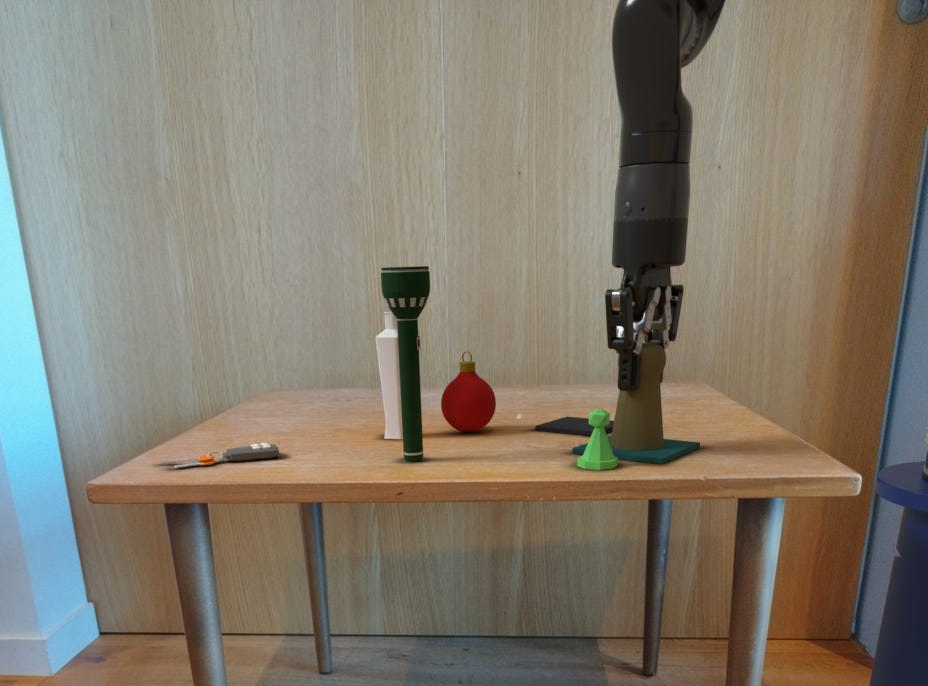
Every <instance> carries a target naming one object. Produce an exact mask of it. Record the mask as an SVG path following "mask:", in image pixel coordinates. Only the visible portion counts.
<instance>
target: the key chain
mask: <svg viewBox="0 0 928 686" xmlns="http://www.w3.org/2000/svg"><path fill="white" fill-rule="evenodd" d="M213 454H218V455H220V457H217V458H215V455H213ZM279 456H280V449H279V447H278V446H277V445H276V444H274V443H269V442H262V443H260V444H259V443H252V444H250V445H248V446H238V447H232V448H227V449H226V451H225V452H221V451H219V450H211V451H209V452H207V454H206V455H201V456H199V457H192V458H191V457H190V458H179V459H173V460H163V461H162V463H163V464H167V463H178V462H179V463H180V462H190V461H196V462H190V463H182V464H176V465H174V466H173V468H174V469H181V468H182V469H183V468H189V467H194V466H209V465H213V464H215V463H220V462H222V461H223V460H228V461H229V462H242V461H243V462H244V461H253V460H264V459H273V458H277V457H279Z"/></svg>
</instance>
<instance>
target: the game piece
mask: <svg viewBox="0 0 928 686" xmlns="http://www.w3.org/2000/svg"><path fill="white" fill-rule="evenodd" d="M610 416H611V413H610V412H608V411H606V410H604V409H603V408H601V407H598V408H597V409H595V410H593V411H591V412H589V413H588V418H589V425H591V426H593V427H595V428H594V430H593V433H592V435H591V436H589V437H590V438H589V440H588V441H587V443H588V444H587V447H586V449H585V452H584V454H582V455H580V456H579V457H578V458H577V459H576V460H577V461H576V466H577V467H579V468H581V469H583V470H596V471H603V470H611V469H612V470H613V469H615V468H616V467H617V466H618V464H619V459H618V458H617V457H614V455H613V452H612V449H611V446H610V443H609V440H608V438H607V436H608V435H607V433H606V432H605V429H604V426H606V425H608V424H609V420H611V419H610V418H611V417H610Z"/></svg>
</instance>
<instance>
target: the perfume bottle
mask: <svg viewBox="0 0 928 686" xmlns="http://www.w3.org/2000/svg"><path fill="white" fill-rule="evenodd" d="M383 315H384V328H385V329H384V330H383V331H381V332H380V333H379V334H377V335H376V336H375V337H374V338H375V339H374V340H375V346H376V354H377V361H378V371H379V379H380V386H381V394H382V402H383V403H382V404H383V412H384V420H385V431H384V437H383V439H387V440H403V430H402V410H401V390H400V371H399V351H398V331H397V318H396V317H395V316H394V314H393V313H392V311H383Z"/></svg>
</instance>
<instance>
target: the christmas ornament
mask: <svg viewBox="0 0 928 686" xmlns="http://www.w3.org/2000/svg"><path fill="white" fill-rule="evenodd" d="M466 353H467V354H469V356H470V360H469V361H467V360H466V361H465V359H464V357H465V354H466ZM461 360H462V361H460V362H459V373H458V374H457V376H456V377H454V379H452V380H451V381H450V382H449V383H448V384H447V385H446V387H445V389H444V390H443V392H442V395H441V401H440V408H441V413H442V415H443V418H444V419H445V421H446V422H447V424H448V425H450V426H451V427H452V428H453V429H455V430H457V431H460V432H462V433H474V432H478V431H480V430H482V429H484V428H485V427H487V425H488V424H490V422H491V421H492V419H493V418H494V415H495V412H496V406H497V401H496V400H497V399H496V395H495V392H494V390H493V388H492V387H491V385H490V384H489V383H488V382H487V381H486V380H484V379H483V378H482V377H480V376H479V375H478V373H477V371H476V361H473V355H472V353H471V352H470V351H468V350H467V351H464V352H463V353H462V355H461Z"/></svg>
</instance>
